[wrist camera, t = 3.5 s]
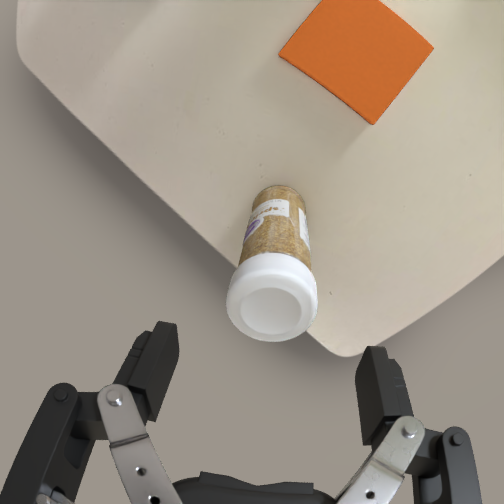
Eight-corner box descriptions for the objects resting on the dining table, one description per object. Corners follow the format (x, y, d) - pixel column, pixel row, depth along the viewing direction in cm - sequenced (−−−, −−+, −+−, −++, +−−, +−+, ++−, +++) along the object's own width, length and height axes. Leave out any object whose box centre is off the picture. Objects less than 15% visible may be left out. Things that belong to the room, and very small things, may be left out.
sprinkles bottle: (263, 176, 26) (241, 258, 14) (314, 196, 26) (335, 291, 14) (244, 224, 28) (213, 329, 16) (293, 242, 28) (294, 355, 17)
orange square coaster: (278, 55, 21) (277, 54, 20) (342, -22, 17) (344, -25, 16) (370, 124, 23) (373, 125, 22) (430, 48, 19) (434, 48, 18)
